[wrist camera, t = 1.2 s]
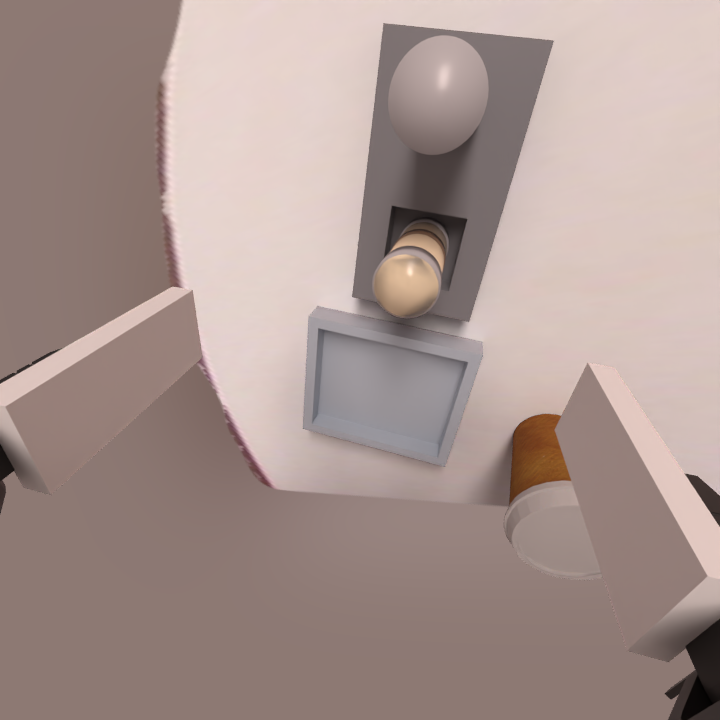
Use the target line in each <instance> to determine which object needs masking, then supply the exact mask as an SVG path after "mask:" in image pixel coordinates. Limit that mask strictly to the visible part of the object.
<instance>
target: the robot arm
mask: <svg viewBox="0 0 720 720" xmlns="http://www.w3.org/2000/svg"><path fill="white" fill-rule="evenodd" d="M201 358H202V351H201V344H200V337H199V330H198V324H197V317H196V310H195V303H194V297H193V290H188V289H183V288H177V287H171V288H169V289H167V290H166V291H164V292H162V293H161V294H159V295H157V296H155V297H153V298H152V299H150V300H148V301H146V302H144V303H143V304H141V305H139V306H137V307H136V308H134V309H132V310H130V311H129V312H127V313H125V314H123V315H122V316H120V317H118V318H116V319H114V320H113V321H111V322H109V323H107V324H106V325H104V326H102V327H100V328H98V329H97V330H95V331H93V332H92V333H90V334H88V335H86V336H84V337H82V338H81V339H79V340H77V341H75V342H74V343H72V344H70V345H68V346H67V347H64V348H62V349H59V350H56V351H53V352H50V353H48V354H46V355H44V356H43V357H41V358H39V359H37V360H36V361H34V362H32V364H31V365H27V366H25V367H23V368H21V369H19V370H17V373H12V374H10V375H8V376H7V377H5V378H3V379H1V380H0V513H1V509H2V505H3V501H4V498H5V493H6V488H5V484H4V483H3V481H2V480H3V479H4V478H5V477H7V476H8V475H9V474H10V473H11V472H13V471H15V473H16V475H17V477H18V479H19V480H20V482H21V484H22V485H23V487H24V488H27V489H31V490H35V491H38V492H42V493H46V494H49V495H51V494H52V493H54V491H56V490H57V489H58V488H59V487H60V486H61V485H62V484H63V483H65V482H66V481H67V480H68V479H69V478H70V477H71V476H72V475H73V474H74V473H76V472H77V471H78V470H79V469H80V468H81V467H82V466H83V465H84V464H85V463H87V462H88V461H89V460H90V459H91V458H92V457H93V456H94V455H95V454H96V453H98V452H99V451H100V450H101V449H102V448H103V447H104V446H105V445H106V444H107V443H109V441H111V440H112V439H113V438H114V437H115V436H116V435H117V434H118V433H119V432H121V431H122V430H123V429H124V428H125V427H126V426H127V425H128V424H129V423H130V422H132V421H133V420H134V419H135V418H136V417H137V416H138V415H139V414H140V413H142V412H143V411H144V410H145V409H146V408H147V407H148V406H149V405H150V404H151V403H153V402H154V401H155V400H156V399H157V398H158V397H159V396H160V395H161V394H162V393H163V392H165V391H166V390H167V389H168V388H169V387H170V386H171V385H172V384H173V383H175V382H176V381H177V380H178V379H179V378H180V377H181V376H182V375H183V374H184V373H186V372H187V370H189V369H190V368H191V367H192V366H193V365H194V364H195V363H197V362H198V361H199V360H200V359H201ZM555 432H556V436H557V439H558V442H559V445H560V448H561V451H562V454H563V457H564V460H565V463H566V466H567V469H568V472H569V475H570V478H571V481H572V484H573V487H574V491H575V494H576V497H577V500H578V503H579V506H580V509H581V512H582V515H583V518H584V521H585V524H586V527H587V530H588V533H589V536H590V539H591V543H592V546H593V549H594V552H595V555H596V558H597V561H598V564H599V567H600V570H601V573H602V576H603V579H604V582H605V585H606V588H607V591H608V594H609V597H610V601H611V604H612V607H613V610H614V613H615V616H616V619H617V622H618V625H619V628H620V631H621V634H622V637H623V640H624V643H625V646H626V650H627V651H629V652H633V653H637V654H640V655H644V656H648V657H651V658H655V659H659V660H662V661H666V662H669V661H670V660H672V659H673V658H674V657H676V656H677V655H678V654H679V653H681V652H682V651H683V650H684V649H685V648H686V649H687V651H688V653H689V656H690V658H691V660H692V663H693V665H694V667H695V669H696V670H695V671H693V672H692V673H691V674H689V675H688V676H686V677H685V678H684V679H682V680H681V681H679V682H678V683H677V684H675V685H674V686H673V687H671V688H670V689H669V690H668V691H667V692H666V693H665V694H666V695H667V696H668V697H669V698H670V699H673V698H674V697H676V696H677V695H678V694H679V696H678V698H677V700H676V703H675V705H674V707H673V710H672V712H671V714H670V717H669V719H668V720H720V496H719V495H718V494H717V493H716V492H715V491H714V490H713V489H711V488H710V487H709V486H708V485H707V484H706V483H705V482H704V481H702V480H701V479H700V478H699V477H698V476H694V475H689V474H685V473H684V472H683V471H682V469H681V468H680V466H679V465H678V463H677V462H676V460H675V458H674V457H673V455H672V454H671V452H670V451H669V449H668V448H667V446H666V445H665V443H664V442H663V440H662V439H661V437H660V436H659V434H658V433H657V431H656V430H655V428H654V427H653V425H652V424H651V422H650V421H649V419H648V418H647V416H646V415H645V413H644V412H643V410H642V409H641V407H640V405H639V404H638V402H637V401H636V399H635V398H634V396H633V395H632V393H631V392H630V390H629V389H628V387H627V386H626V384H625V383H624V381H623V380H622V378H621V377H620V375H619V374H618V372H617V371H616V369H615V368H614V367H609V366H603V365H598V364H593V363H587V365H586V367H585V369H584V371H583V373H582V375H581V377H580V379H579V382H578V384H577V386H576V388H575V390H574V392H573V394H572V396H571V398H570V400H569V402H568V404H567V406H566V408H565V410H564V412H563V414H562V416H561V418H560V420H559V422H558V424H557V426H556V428H555Z"/></svg>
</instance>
